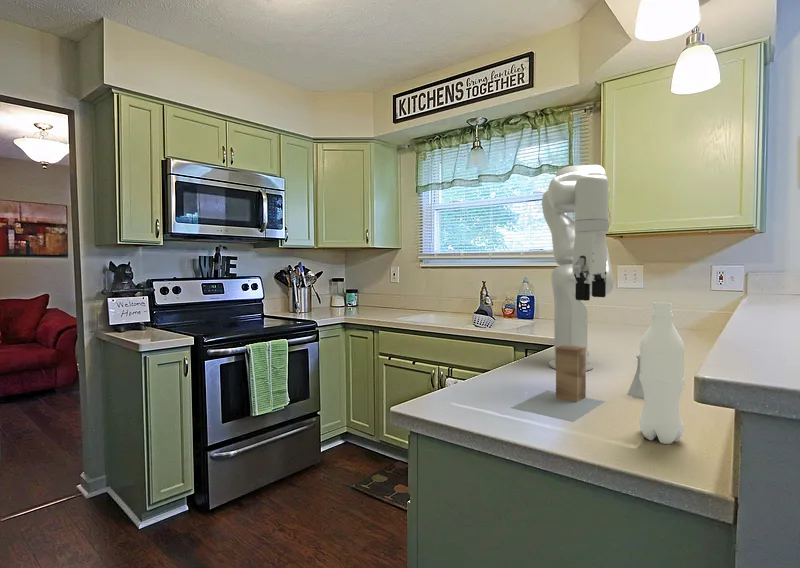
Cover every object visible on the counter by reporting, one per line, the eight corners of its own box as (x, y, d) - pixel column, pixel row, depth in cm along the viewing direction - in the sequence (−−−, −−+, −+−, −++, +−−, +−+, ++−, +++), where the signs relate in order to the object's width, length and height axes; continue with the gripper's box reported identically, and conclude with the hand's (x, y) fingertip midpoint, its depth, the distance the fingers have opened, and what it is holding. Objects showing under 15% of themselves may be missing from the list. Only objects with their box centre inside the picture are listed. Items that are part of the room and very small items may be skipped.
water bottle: (675, 432, 88) (676, 300, 87) (690, 447, 81) (692, 304, 80) (634, 430, 89) (635, 300, 88) (645, 445, 82) (646, 304, 81)
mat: (547, 392, 116) (547, 390, 116) (605, 403, 106) (605, 401, 106) (510, 410, 103) (510, 407, 102) (573, 424, 93) (573, 421, 93)
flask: (665, 402, 107) (665, 359, 106) (631, 401, 108) (631, 358, 108) (654, 393, 114) (655, 353, 113) (623, 392, 115) (623, 352, 115)
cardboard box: (565, 393, 113) (565, 344, 112) (585, 397, 109) (586, 346, 109) (555, 398, 109) (555, 347, 108) (577, 402, 106) (577, 349, 105)
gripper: (590, 229, 121) (589, 295, 122) (560, 228, 109) (560, 300, 110) (620, 228, 116) (619, 296, 117) (592, 226, 104) (592, 302, 105)
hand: (590, 298), depth 113 cm, fingers open, 9 cm apart
